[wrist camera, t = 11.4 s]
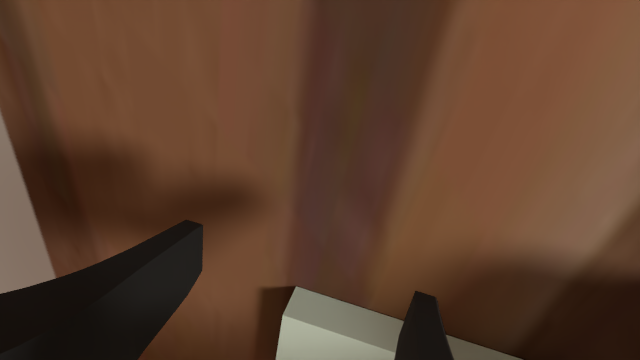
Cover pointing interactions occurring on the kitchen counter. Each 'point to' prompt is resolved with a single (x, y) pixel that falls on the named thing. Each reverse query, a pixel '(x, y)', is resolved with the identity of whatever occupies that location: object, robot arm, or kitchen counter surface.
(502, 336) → the kitchen counter surface
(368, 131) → the kitchen counter surface
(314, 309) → the socket board
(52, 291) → the robot arm
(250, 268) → the kitchen counter surface
